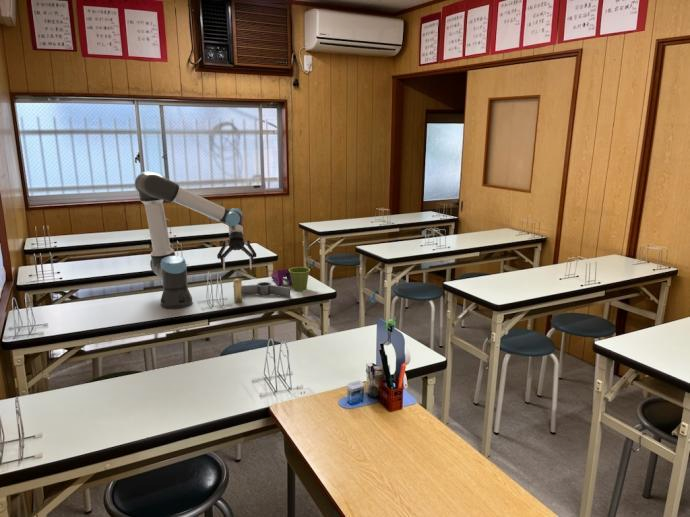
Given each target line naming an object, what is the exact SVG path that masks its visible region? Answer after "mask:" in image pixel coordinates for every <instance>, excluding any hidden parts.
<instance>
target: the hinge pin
mask: <svg viewBox="0 0 690 517" xmlns="http://www.w3.org/2000/svg"><path fill="white" fill-rule="evenodd" d="M232 281H233V282H232V283H233V301H234V304H242V303H243V295H242V286H243V284H242V278H233V280H232Z"/></svg>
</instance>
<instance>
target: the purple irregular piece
mask: <svg viewBox="0 0 690 517" xmlns="http://www.w3.org/2000/svg"><path fill="white" fill-rule="evenodd" d="M289 269H290V268H286V269H279V270H276V271H274V272H273V273H272V274H271V279H272V280H274V282H275V286H282V287H283V286H284V278H286V282H287V284H288V285H289V286H293V285H292V279H291V275H290V272H289ZM283 277H284V278H283Z"/></svg>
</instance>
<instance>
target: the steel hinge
mask: <svg viewBox="0 0 690 517" xmlns="http://www.w3.org/2000/svg"><path fill="white" fill-rule="evenodd" d="M250 295H258V296H269V295H272V296H279V297H283V296H284V297H283V298H290V297H291V287H287V286H283V285H282V286H277V285H276V284H275V285H274V284H272V283H271V282H268V281H261V282H257V283H256V284H246V285H244V284H243V285H242V296H250Z"/></svg>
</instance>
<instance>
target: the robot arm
mask: <svg viewBox="0 0 690 517" xmlns="http://www.w3.org/2000/svg"><path fill="white" fill-rule="evenodd" d="M134 186H135V189H136V191H137V192H138V195H139V201H140V202H141V203H142V204H143V205H144V209H145V214H146V219H147V226H148V230H149V236H150V240H151V241H150V242H151V247H152V251H151V252H150V258H151V259H150V262H149V263H150V264H149V266H150V269H151V271H152V272H153V274H155V275H156V276H158V277H159V278H161V280H162V290H163V291H162V293H161V296H160V297H161V298H160V307H161V308H163V307H164V308H163V309H168V310H169V309H170V310H174V309H183V308H187V307H189V306H191V305H192V304H193V297H192V294H191V293H190V290H189V286H188V285H189V284H188V273H187V270H188V269H187V262H186V259H185V258H184V257H182V256H179V255H176V253H175V252H176V251H175V249H173V248H172V246H171V242H170V237H169V236H170V235H169V231H168V230H169V229H168V226H167V225H168V224H167V219H166V214H165V213H166V212H165V208H164V201H166V202H169V203H175V204H178V205H181V206H183V207H185V208H187V209H190V210H192V211H194V212H196V213H199V214H202V215H204V216H206V217H207V218H208V219H210V220H212V221H216V222H219V223H222V224H224V225H227V226H228V238H229V239H228V240H229V241H228V242H226V241H225V240H224V241H223V243H222V244H223V245H222V246H221V248H220V249H219V251H218V253H217V255H216V257H217V259H218V260H220V265H221V266H222V269H223V270H222V271H223V272H225V271H226V257H227V256H228V255H229V254H230V253H231V252H232V251H240V250H241V251H242V252H244V253H245V254H246V255H247V256H248V257H249V270H252V264H254V258H257V253H256V250H254V248H253V246H252V245H251V243H250V240H246V241H244V224H243V223H244V222H243V220H244V219H243V212H242V209H239V208H237V207H236V208H235V207H234V208H230V209H228V208H226V207H224V206H221V205H220V204H217V203H215V202H213V201H210V200H209V199H206V198H204V197H202V196H200V195H197V194H196V193H193V192H191V191H189V190H187V189H185V188H183V187H181V186H180V184H179V183H176V182H174V181H173V180H170V179H169V178H167V177H166V176H164V175H162V174H160V173H158V172H157V173H156V172H154V171H143V172H141V173H139V174H138V175H137V176H136V177H135V181H134ZM245 246H246V247H247V248H246V247H245ZM227 247H228V248H227ZM226 248H227V249H226ZM225 249H226V250H225ZM248 249H249V250H248Z"/></svg>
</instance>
